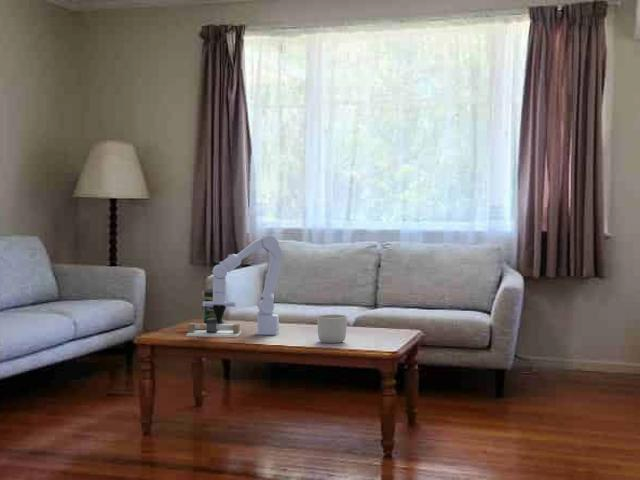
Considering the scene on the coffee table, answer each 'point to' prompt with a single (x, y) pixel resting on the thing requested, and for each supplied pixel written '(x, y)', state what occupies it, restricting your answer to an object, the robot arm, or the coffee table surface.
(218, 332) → the rail
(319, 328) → the planter
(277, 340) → the coffee table surface
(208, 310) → the coffee jar
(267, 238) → the robot arm
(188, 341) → the coffee table surface
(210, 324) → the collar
